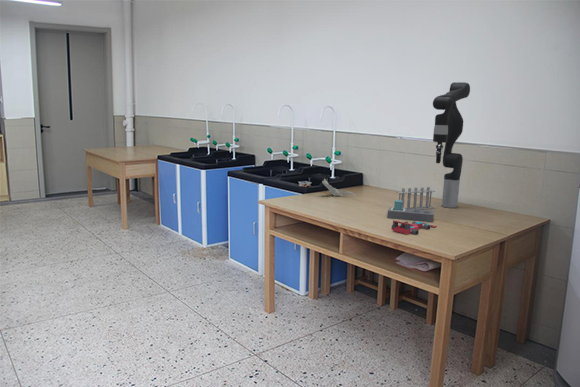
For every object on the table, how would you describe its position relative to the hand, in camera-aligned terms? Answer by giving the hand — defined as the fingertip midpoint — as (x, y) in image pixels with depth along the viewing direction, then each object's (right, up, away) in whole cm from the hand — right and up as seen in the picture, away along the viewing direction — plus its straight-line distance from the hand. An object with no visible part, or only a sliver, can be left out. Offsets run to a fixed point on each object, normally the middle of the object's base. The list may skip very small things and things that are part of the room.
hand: (438, 162), depth 270 cm
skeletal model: (-52, -19, +56) cm, 79 cm away
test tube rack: (-8, -27, +20) cm, 35 cm away
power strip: (-17, -31, -4) cm, 35 cm away
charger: (-23, -29, -2) cm, 37 cm away
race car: (-20, -36, -27) cm, 50 cm away
